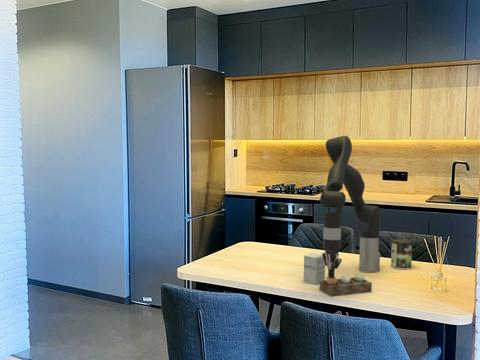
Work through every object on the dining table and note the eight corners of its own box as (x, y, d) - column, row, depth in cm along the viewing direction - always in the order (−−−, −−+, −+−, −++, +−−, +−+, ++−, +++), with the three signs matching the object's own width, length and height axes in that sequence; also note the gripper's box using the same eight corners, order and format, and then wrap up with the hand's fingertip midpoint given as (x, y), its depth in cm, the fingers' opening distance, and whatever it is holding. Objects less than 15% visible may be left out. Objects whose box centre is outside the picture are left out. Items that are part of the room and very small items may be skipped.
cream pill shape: (346, 281, 211) (347, 274, 211) (351, 284, 207) (352, 277, 207) (338, 282, 210) (339, 275, 209) (343, 285, 206) (344, 277, 206)
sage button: (360, 280, 213) (360, 273, 213) (365, 282, 210) (365, 275, 209) (352, 281, 212) (352, 274, 212) (357, 283, 208) (358, 276, 208)
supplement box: (302, 281, 223) (303, 254, 222) (312, 278, 228) (313, 252, 227) (315, 285, 217) (316, 257, 216) (325, 281, 223) (325, 255, 222)
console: (358, 285, 217) (358, 276, 216) (371, 291, 207) (371, 282, 207) (319, 289, 210) (319, 280, 210) (331, 296, 201) (331, 287, 200)
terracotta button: (333, 283, 209) (333, 276, 208) (337, 285, 205) (338, 278, 205) (324, 284, 207) (325, 276, 207) (329, 286, 203) (329, 279, 203)
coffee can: (415, 267, 249) (416, 240, 248) (404, 270, 243) (405, 243, 242) (397, 263, 257) (398, 237, 256) (386, 266, 251) (387, 240, 250)
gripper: (348, 239, 200) (347, 280, 201) (331, 234, 212) (330, 272, 213) (332, 240, 197) (331, 282, 198) (316, 235, 210) (315, 274, 211)
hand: (331, 277), depth 206 cm, fingers closed
